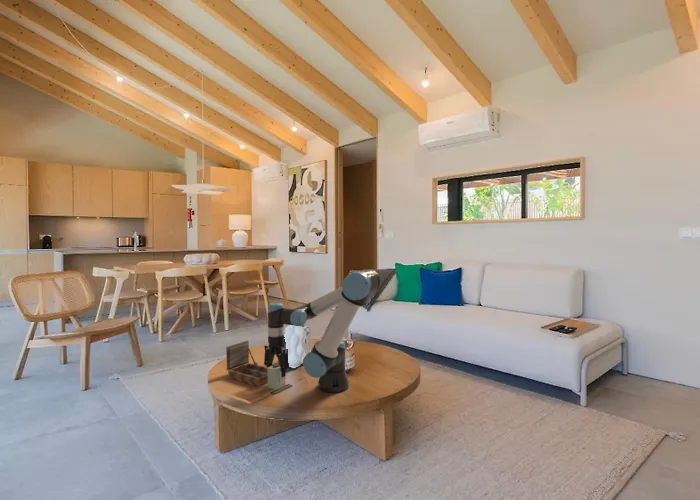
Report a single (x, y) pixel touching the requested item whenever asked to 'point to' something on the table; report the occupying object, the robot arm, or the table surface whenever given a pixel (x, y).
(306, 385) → the table surface
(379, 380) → the table surface
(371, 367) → the table surface
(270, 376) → the block
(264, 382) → the case
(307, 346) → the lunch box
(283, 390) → the mat
